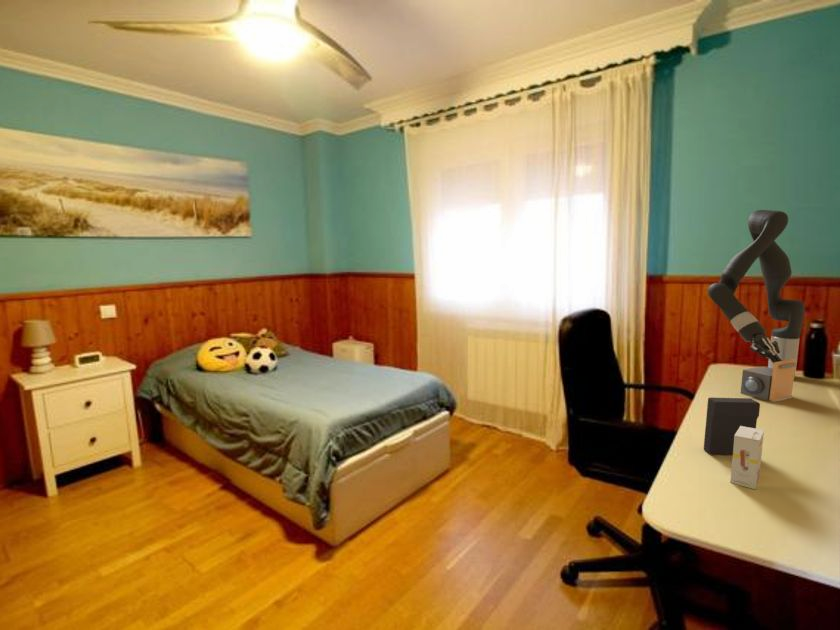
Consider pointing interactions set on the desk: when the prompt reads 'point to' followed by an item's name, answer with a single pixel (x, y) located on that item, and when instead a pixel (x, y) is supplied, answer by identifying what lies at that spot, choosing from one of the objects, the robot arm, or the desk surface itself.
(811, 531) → the desk surface
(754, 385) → the camera housing
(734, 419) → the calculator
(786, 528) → the desk surface
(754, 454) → the ink box
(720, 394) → the desk surface
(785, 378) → the side door
